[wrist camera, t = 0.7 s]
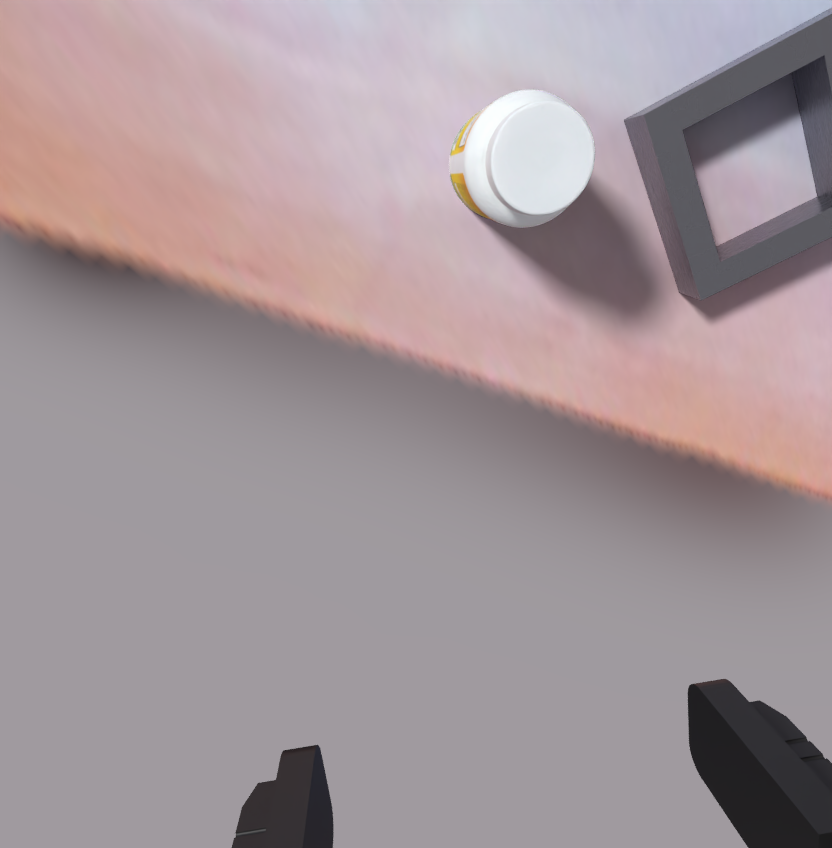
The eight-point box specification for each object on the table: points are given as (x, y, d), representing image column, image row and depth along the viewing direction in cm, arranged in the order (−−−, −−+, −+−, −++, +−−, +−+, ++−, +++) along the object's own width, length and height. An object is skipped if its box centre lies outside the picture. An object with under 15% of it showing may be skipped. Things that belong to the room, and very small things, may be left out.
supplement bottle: (449, 107, 29) (476, 74, 21) (553, 108, 30) (623, 76, 21) (446, 219, 31) (470, 233, 23) (543, 219, 32) (604, 233, 23)
